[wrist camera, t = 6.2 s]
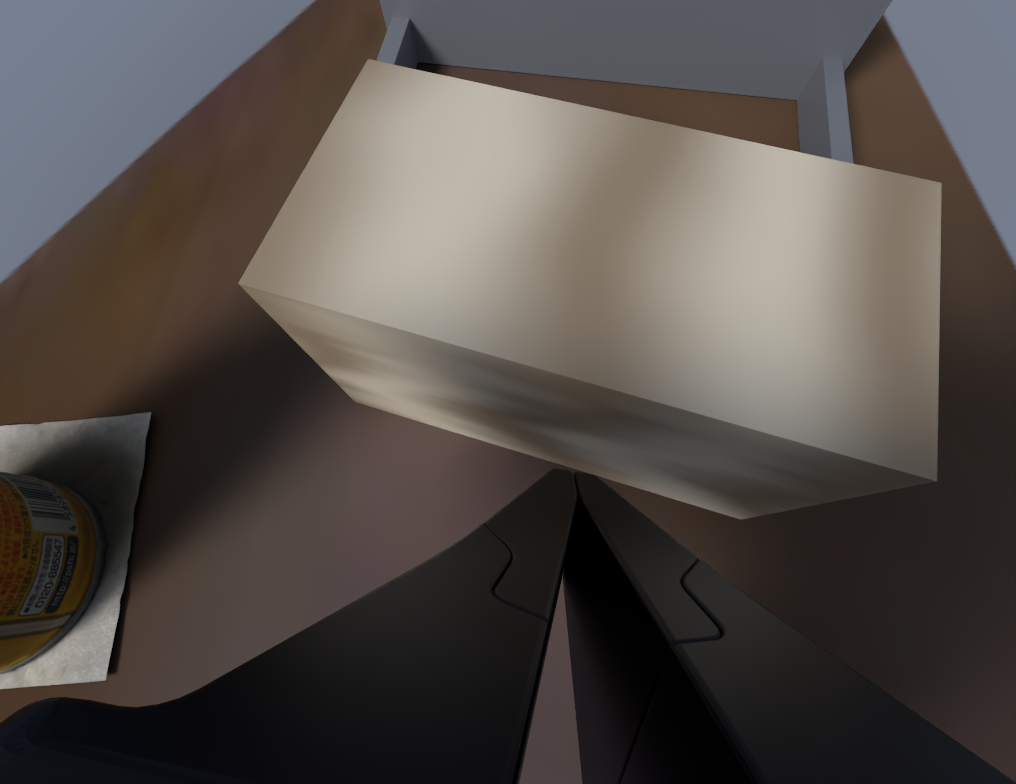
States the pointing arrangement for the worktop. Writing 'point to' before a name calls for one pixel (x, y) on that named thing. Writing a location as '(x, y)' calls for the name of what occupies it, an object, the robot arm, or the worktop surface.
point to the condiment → (65, 544)
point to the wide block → (616, 293)
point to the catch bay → (656, 47)
